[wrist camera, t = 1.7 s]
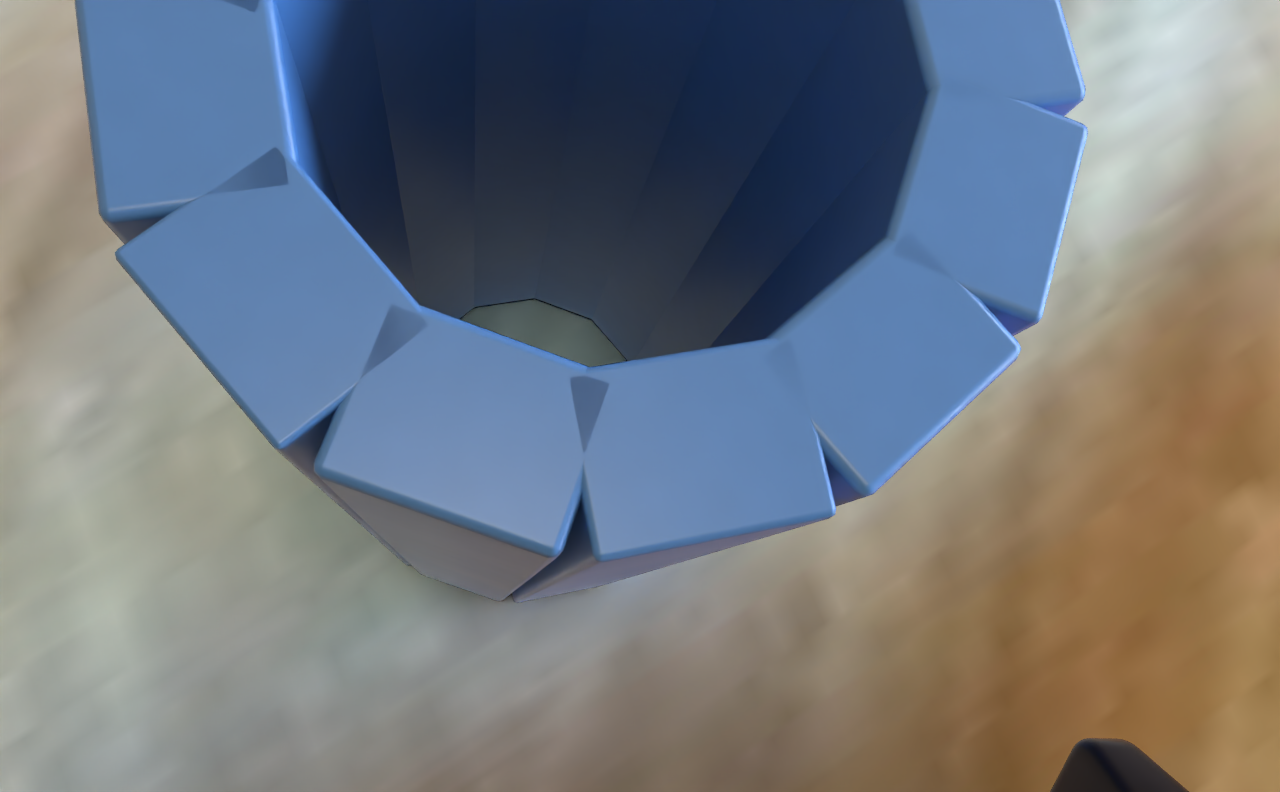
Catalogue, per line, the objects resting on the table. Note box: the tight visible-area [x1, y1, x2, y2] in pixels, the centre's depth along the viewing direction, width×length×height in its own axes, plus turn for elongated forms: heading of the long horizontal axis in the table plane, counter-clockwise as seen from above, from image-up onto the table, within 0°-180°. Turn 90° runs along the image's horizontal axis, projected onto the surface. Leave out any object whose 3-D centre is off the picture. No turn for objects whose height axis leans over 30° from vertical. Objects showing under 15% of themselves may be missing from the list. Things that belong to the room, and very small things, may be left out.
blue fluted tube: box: [75, 0, 1088, 603], centre depth 14 cm, size 7×7×14 cm
